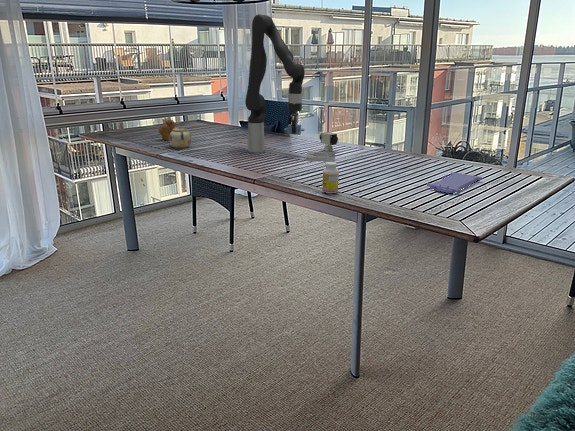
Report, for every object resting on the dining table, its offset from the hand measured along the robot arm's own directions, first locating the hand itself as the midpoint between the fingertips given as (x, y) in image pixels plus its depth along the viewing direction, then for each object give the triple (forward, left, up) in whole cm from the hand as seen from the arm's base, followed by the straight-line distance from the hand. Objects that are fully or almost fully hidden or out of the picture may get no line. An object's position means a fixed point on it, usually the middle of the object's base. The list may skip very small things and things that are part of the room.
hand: (294, 132), depth 262 cm
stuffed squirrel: (-88, +38, -14) cm, 97 cm away
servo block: (0, 0, -1) cm, 1 cm away
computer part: (+78, -51, -14) cm, 94 cm away
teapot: (-72, +15, -14) cm, 75 cm away
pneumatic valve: (+19, +16, -14) cm, 28 cm away
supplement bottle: (+23, -69, -14) cm, 74 cm away
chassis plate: (+15, -3, -13) cm, 20 cm away
